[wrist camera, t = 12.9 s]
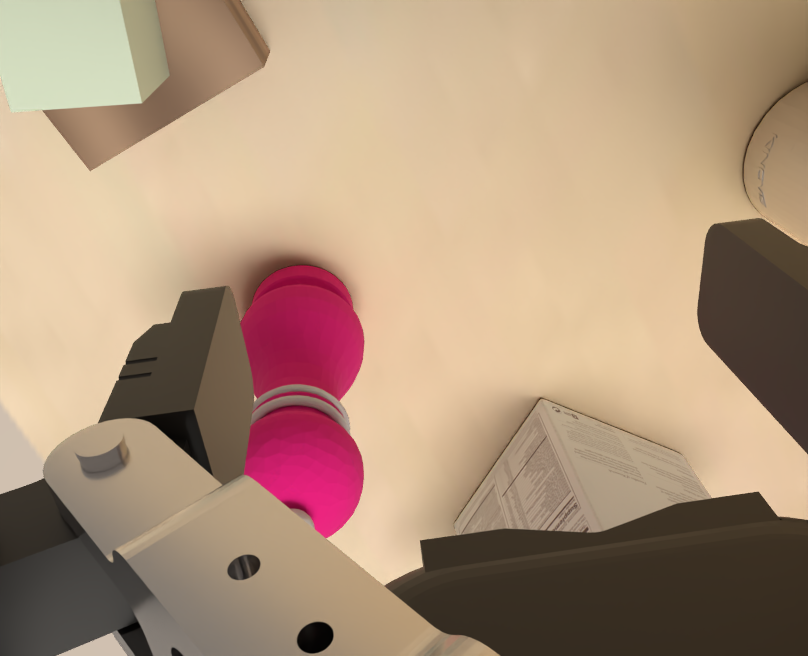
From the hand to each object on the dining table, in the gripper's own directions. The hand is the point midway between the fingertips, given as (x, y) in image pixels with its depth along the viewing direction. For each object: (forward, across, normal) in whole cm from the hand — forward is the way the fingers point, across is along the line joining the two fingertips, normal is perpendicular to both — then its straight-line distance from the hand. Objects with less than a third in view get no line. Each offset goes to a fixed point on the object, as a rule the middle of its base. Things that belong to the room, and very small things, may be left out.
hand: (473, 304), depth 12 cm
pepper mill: (+30, +6, +15) cm, 34 cm away
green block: (+26, +12, -3) cm, 28 cm away
